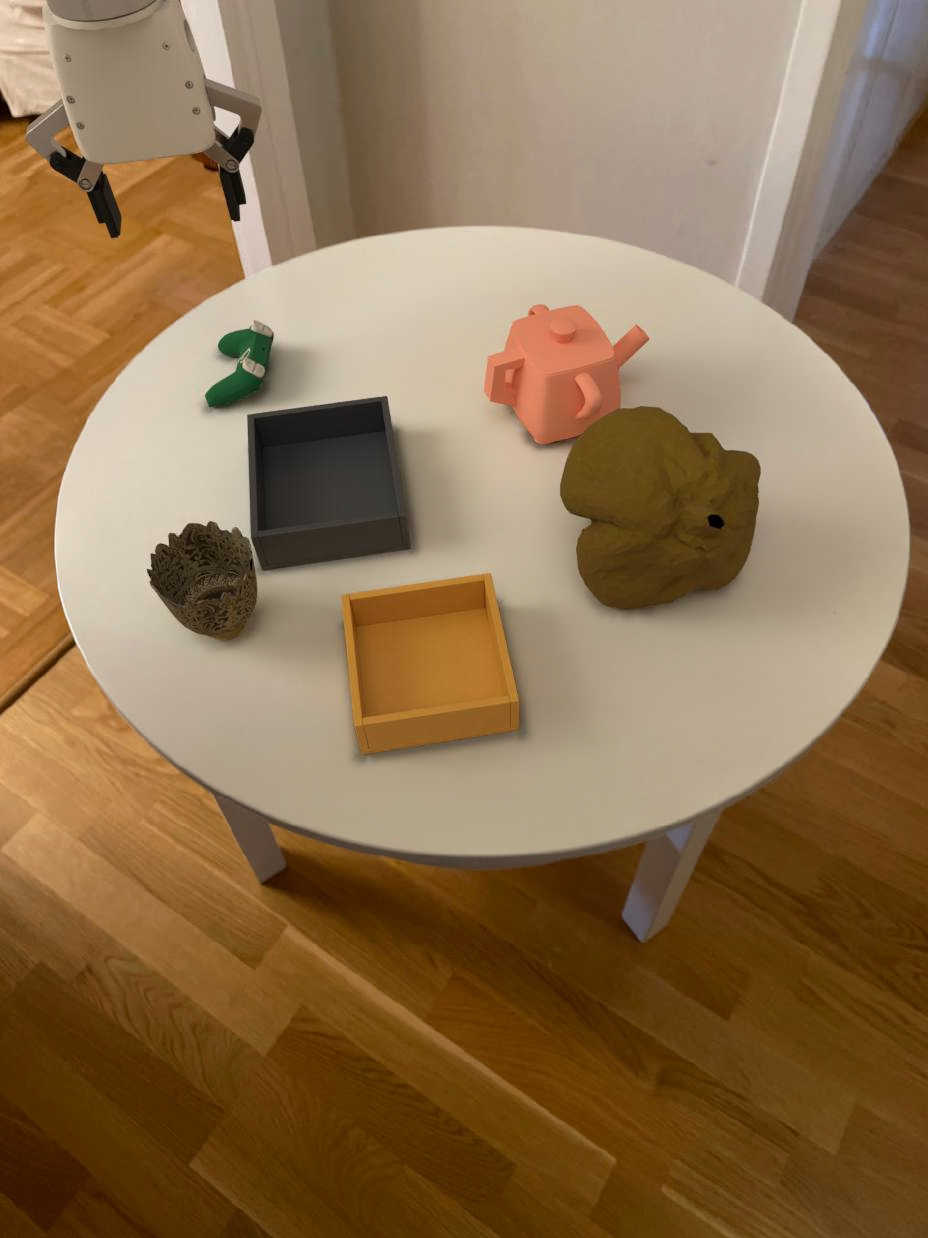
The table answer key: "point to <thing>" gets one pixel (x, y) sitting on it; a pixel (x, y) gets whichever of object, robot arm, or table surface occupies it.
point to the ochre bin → (428, 664)
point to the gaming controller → (243, 364)
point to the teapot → (559, 371)
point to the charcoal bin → (325, 483)
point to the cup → (206, 579)
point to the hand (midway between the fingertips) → (176, 220)
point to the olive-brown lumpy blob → (658, 508)
